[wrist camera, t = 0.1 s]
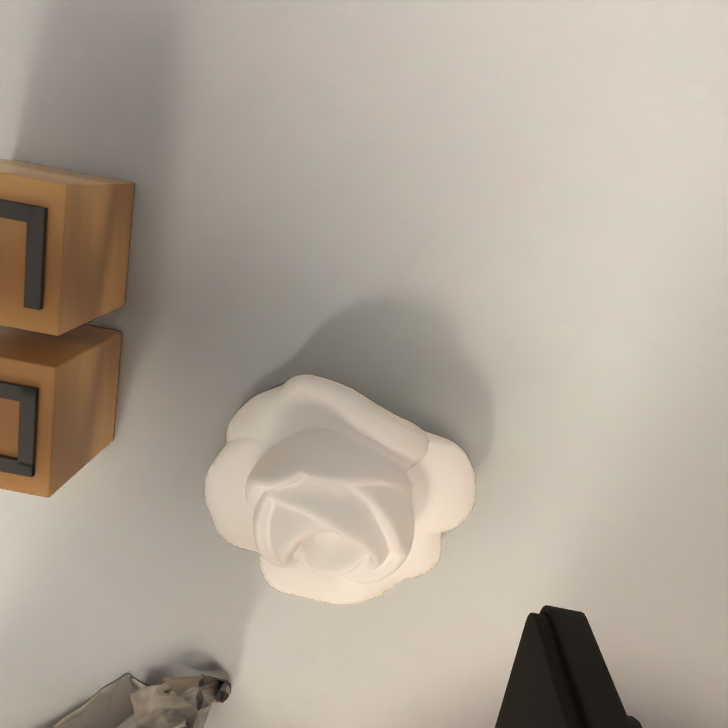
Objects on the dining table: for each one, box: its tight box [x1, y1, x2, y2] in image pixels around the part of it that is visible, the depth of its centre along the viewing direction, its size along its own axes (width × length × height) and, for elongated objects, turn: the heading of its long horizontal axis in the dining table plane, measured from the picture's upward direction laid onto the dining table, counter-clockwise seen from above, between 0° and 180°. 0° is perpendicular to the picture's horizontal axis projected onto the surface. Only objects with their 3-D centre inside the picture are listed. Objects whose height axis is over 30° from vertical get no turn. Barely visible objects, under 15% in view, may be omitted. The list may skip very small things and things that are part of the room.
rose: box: [205, 375, 476, 604], centre depth 24 cm, size 10×4×10 cm
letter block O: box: [0, 325, 122, 497], centre depth 23 cm, size 4×4×5 cm
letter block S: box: [0, 159, 134, 336], centre depth 22 cm, size 4×4×5 cm
